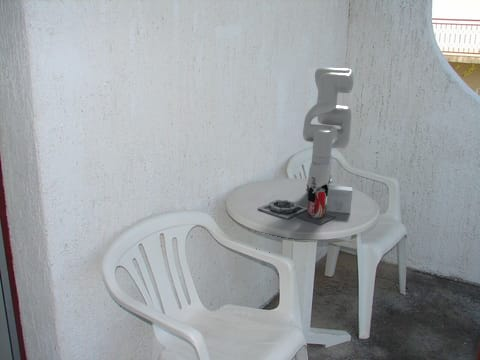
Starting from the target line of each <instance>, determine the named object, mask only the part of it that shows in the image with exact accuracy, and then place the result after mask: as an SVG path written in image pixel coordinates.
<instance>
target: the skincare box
mask: <svg viewBox="0 0 480 360" xmlns="http://www.w3.org/2000/svg"><path fill="white" fill-rule="evenodd" d="M352 199H353V187H351V186H339V185H332V184H330V185H329V187H328V196H326V207H325V211H326V212H328V211H329V212H330V213H340V214H341V213H342V214H351V211H352V210H351V209H352ZM329 212H328V213H329Z"/></svg>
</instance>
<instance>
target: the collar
mask: <svg viewBox="0 0 480 360" xmlns="http://www.w3.org/2000/svg"><path fill="white" fill-rule="evenodd" d="M285 207H286V208H285ZM257 210H258V211H260V212H263V213H266V214H270V215H272V216H275V217H277V218H282V219H284V220H290V219H292V218H294V217H296V216H297V215H300V214H302V213H304V212H306V211H308V207H304V206H302V205H298V204H297V202H294V201H291V200H288V199H275V200H272V201H270V202H269V203H266V204H265V205H262V206H259V207H257Z"/></svg>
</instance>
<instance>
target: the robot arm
mask: <svg viewBox="0 0 480 360" xmlns="http://www.w3.org/2000/svg"><path fill="white" fill-rule="evenodd" d="M354 77H355V76H354V71H353V70H352V69H351V68H343V67H342V68H339V67H338V68H337V67H319V68H317V69H316V70H315V71H314V82H315V85H316V88H317V99H316V100H317V101H316V104H314V105H313V106H311V108H310V109H309V110H308V111H307V113H306V115H305V117H304V121H303V128H302V138H303V140H304V141H305V142H307V143H312V153H311V154H312V155H311V163H310V166H309V171H308V176H307V178H308V179H307V183H306V184H305V185H306V186H305V187H306V190H307V201H308V202H309V201H311V202H315V195H316V193H315V191H316V189H317V188H319V187H320V188H324V189H325V192H326V197H327V196H328V187H329V185H333V183H334V180H333V179H332V175H331V174H332V164H333V155H332V149H340V150H341V149H342V150H343V149H347V148H348V147H349V144H350V136H351V135H350V134H351V126H352V110H351V109H350V107H349V106H346V105H337V104H338V98H339V97H338V96H339V95H338V94H350V93H351V92H352V90H353V89H354V81H355V79H354ZM316 117H317V122H318V124H317V123H316V124H315V123H312V120H313V119H315V118H316ZM335 126H336V127H335ZM337 127H339V128H337ZM312 188H314V189H312Z"/></svg>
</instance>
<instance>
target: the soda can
mask: <svg viewBox="0 0 480 360" xmlns="http://www.w3.org/2000/svg"><path fill="white" fill-rule="evenodd" d="M312 189H314V188H312ZM315 193H316V195H315V202H311V201H308V203H307V205H308V206H307V208H308V215H309V216H310V217H312V218H321V217H323V216H324V213H326V212H325V211H326V204H327V196H326V192H325V189H324V188H320V187H319V188H317V189H316V191H315Z"/></svg>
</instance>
